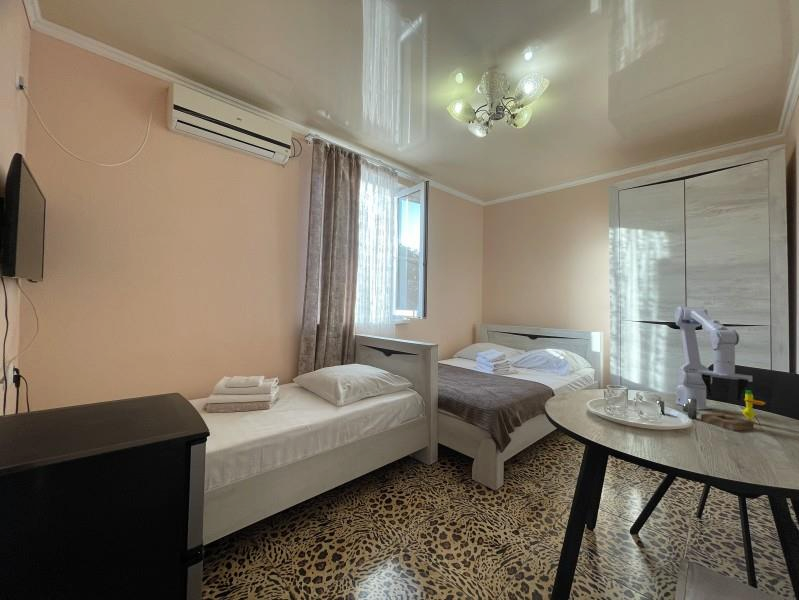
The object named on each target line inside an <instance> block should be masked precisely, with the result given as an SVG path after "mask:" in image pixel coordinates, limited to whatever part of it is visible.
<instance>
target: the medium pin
mask: <svg viewBox="0 0 799 600" xmlns="http://www.w3.org/2000/svg"><path fill="white" fill-rule="evenodd" d="M655 401H656V402H657V403H658V404H660V407H661V412H662V414H661V415H665V401H664V400H659V399H656V400H655ZM656 402H655V403H656Z"/></svg>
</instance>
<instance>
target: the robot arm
mask: <svg viewBox="0 0 799 600" xmlns="http://www.w3.org/2000/svg"><path fill="white" fill-rule="evenodd" d="M708 314H709V313H708V309H707V308H706V307H705V306H681V305H680V306H676V308H675V311H674V320H675V325H676V326H677V327H679V329H680V334H681V342H682V347H683V353H684V355H683V356H684V360H685V361H684V362H685V364H683V365H681V366H680V367H679V368H678V375H677V376H678V380H679V383H680V384H678V385H677V387H676V391H675V393H676V399H675V404H677V405H679V406H683V403H687V404H688V398H693V399H697V411H698V410H699V411H700V410H701V411H702V410H711V409H713V407H711V406H707V392H708V396H709V397H710V396H711V397H712V383H713V378H721V379H727V380H735V381H737V401H740V400H741V397H742V394H743V392H744V391H745V389H746V387H747V386H748V385H749V382H750V383H751V382H752V383H753V375H748V374H742V373H736V345H737V346H738V344H739V341H740V335H739V333H738V331H737V330H736V329H728V328H727V327H726V326H725V325H723V324H722V323H721V322H719V320H717V319H712V318H711V317H710V316H709V315H708ZM698 327H701V328H702V331H704V332H705V333H706V334H707V335H708V336H709V340H710V343H711V349H713V370H709V368H708V367H706V366H705V365H703V364H702V363H701V358H700V357H701V356H700V353H699V351H700V350H699V344H698V339H697V334H696V333H697V332H696V328H698Z"/></svg>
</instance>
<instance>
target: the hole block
mask: <svg viewBox="0 0 799 600" xmlns="http://www.w3.org/2000/svg"><path fill="white" fill-rule="evenodd" d="M700 421H701V422H704V423H707V424H710V425H714V426H716V427H720V428H722V429H725V430H729V431H743V429H745V430H753V429H754V425H755V424H753V421H754V420H751V421H749V420H748V419H746V418H745V419H744V418H742V417H738V416H734V415H731V414H727V413H724V412H714V413H713V412H712V413H701V414H700Z"/></svg>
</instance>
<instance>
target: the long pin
mask: <svg viewBox="0 0 799 600" xmlns="http://www.w3.org/2000/svg"><path fill="white" fill-rule="evenodd" d="M688 417H689V418H688ZM687 418H688V419H690V418H691V420H697V419H698V410H697V399H693V398H688V412H687Z"/></svg>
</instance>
